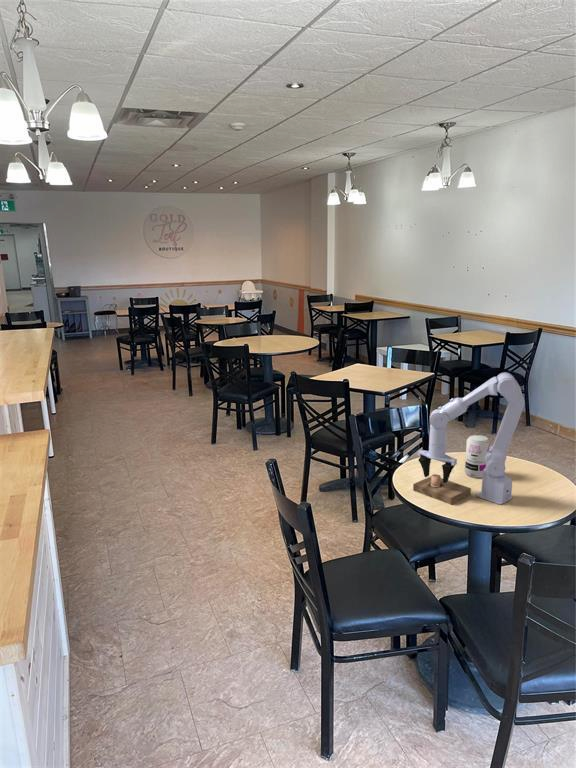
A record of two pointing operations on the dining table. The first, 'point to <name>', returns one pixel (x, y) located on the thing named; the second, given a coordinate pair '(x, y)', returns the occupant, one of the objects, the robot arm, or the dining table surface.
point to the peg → (435, 481)
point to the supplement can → (476, 455)
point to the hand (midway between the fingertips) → (435, 479)
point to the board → (442, 490)
